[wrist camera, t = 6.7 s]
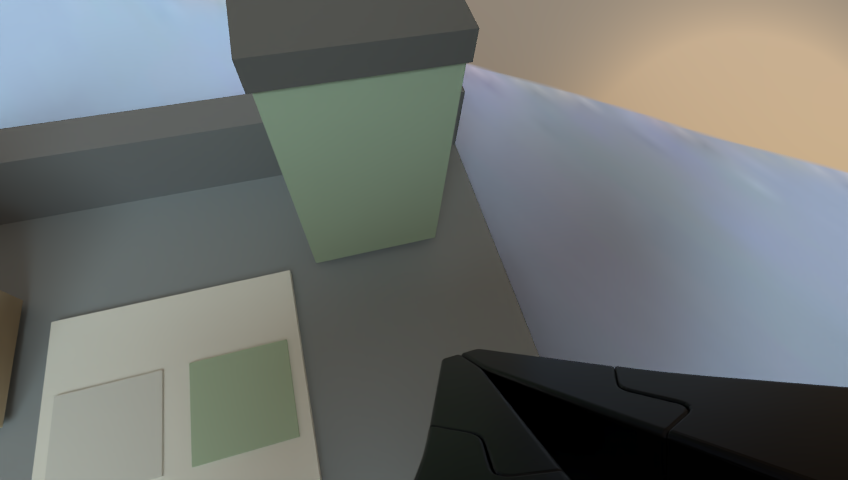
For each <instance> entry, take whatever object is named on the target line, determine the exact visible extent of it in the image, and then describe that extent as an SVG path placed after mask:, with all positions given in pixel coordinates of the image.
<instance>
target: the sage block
mask: <svg viewBox="0 0 848 480" xmlns="http://www.w3.org/2000/svg"><path fill="white" fill-rule="evenodd" d="M226 6H227V16H228V26H229V35H230V45H231V54H232V61H233V63H234V66H235V68H236V71H237V73H238V76H239V78H240V81H241V83H242V86H243V88H244V91H245V94H251V93H252V95H253V97H254V100H255V103H256V105H257V108H258V111H259V113H260V116H261V119H262V121H263V124H264V127H265V129H266V132H267V135H268V137H269V140H270V143H271V145H272V148H273V150H274V153H275V156H276V158H277V161H278V164H279V166H280V169H281V172H282V174H283V177H284V180H285V182H286V185H287V188H288V190H289V193H290V195H291V198H292V201H293V203H294V206H295V209H296V211H297V214H298V217H299V219H300V222H301V225H302V227H303V230H304V233H305V235H306V238H307V240H308V243H309V246H310V248H311V251H312V254H313V256H314V259H315V262H316V263H320V262H324V261H329V260H333V259H338V258H343V257H347V256H352V255H356V254H361V253H366V252H370V251H375V250H379V249H384V248H389V247H393V246H398V245H402V244H407V243H412V242H416V241H421V240H425V239H430V238H435V235H436V229H437V224H438V218H439V212H440V207H441V201H442V196H443V190H444V184H445V179H446V173H447V168H448V162H449V156H450V151H451V145H452V139H453V134H454V128H455V123H456V117H457V111H458V106H459V100H460V95H461V89H462V83H463V78H464V72H465V67H466V63H469V62H473V57H474V52H475V47H476V41H477V37H478V31H479V27H478V25H477V23H476V21H475V19H474V17H473V15H472V13H471V11H470V9H469V7H468V5H467V4H466V2H465V0H226Z"/></svg>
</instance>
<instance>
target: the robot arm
mask: <svg viewBox="0 0 848 480" xmlns="http://www.w3.org/2000/svg"><path fill="white" fill-rule="evenodd" d="M414 480H848V387H837V386H825V385H812V384H800V383H787V382H775V381H762V380H750V379H737V378H725V377H712V376H700V375H690V374H679V373H668V372H659V371H650V370H642V369H633V368H626V367H618V366H617V367H615V369H614V367H612V366H605V365H597V364H590V363H582V362H575V361H567V360H560V359H552V358H545V357H537V356H530V355H522V354H515V353H507V352H500V351H492V350H485V349H475V350H471V351H468V352H464V353H463V354H462V355H454V356H451V357H447V358H444V359H443V360H442V362H441V367H440V373H439V378H438V384H437V389H436V395H435V400H434V405H433V411H432V416H431V422H430V427H429V430H428V435H427V440H426V444H425V448H424V452H423V456H422V459H421V462H420V465H419V467H418V470H417V473H416V475H415V478H414Z"/></svg>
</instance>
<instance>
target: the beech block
mask: <svg viewBox="0 0 848 480" xmlns="http://www.w3.org/2000/svg"><path fill="white" fill-rule="evenodd" d="M22 304H23V300H21V299H19V298H16V297H14V296H12V295H10V294H8V293H5V292H3V291H1V290H0V428H2V427H3V421H4V415H5V409H6V403H7V397H8V390H9V384H10V378H11V372H12V366H13V359H14V353H15V347H16V341H17V335H18V328H19V322H20V316H21V310H22Z"/></svg>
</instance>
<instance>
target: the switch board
mask: <svg viewBox="0 0 848 480" xmlns="http://www.w3.org/2000/svg"><path fill="white" fill-rule="evenodd" d="M464 93H465V91H464V89H463V86H462V89H461V95H460V100H459V106H458V111H457V117H456V123H455V128H454V134H453V139H452V145H451V151H450V156H449V162H448V168H447V173H446V179H445V184H444V190H443V196H442V201H441V207H440V212H439V218H438V224H437V229H436V235H435V238H430V239H425V240H421V241H416V242H412V243H407V244H402V245H398V246H393V247H389V248H384V249H379V250H375V251H370V252H366V253H361V254H356V255H352V256H347V257H343V258H338V259H333V260H329V261H324V262H320V263H316V262H315V259H314V256H313V254H312V251H311V248H310V246H309V243H308V240H307V238H306V235H305V233H304V230H303V227H302V225H301V222H300V219H299V217H298V214H297V211H296V209H295V206H294V203H293V201H292V198H291V195H290V193H289V190H288V188H287V185H286V182H285V180H284V177H283V174H282V172H281V169H280V166H279V164H278V161H277V158H276V156H275V153H274V150H273V148H272V145H271V143H270V140H269V137H268V135H267V132H266V129H265V127H264V124H263V121H262V119H261V116H260V113H259V111H258V108H257V105H256V103H255V100H254V97H253V95H252V94H244V95H237V96H230V97H223V98H216V99H209V100H202V101H195V102H188V103H181V104H174V105H167V106H160V107H153V108H146V109H139V110H132V111H124V112H117V113H110V114H103V115H96V116H89V117H82V118H75V119H68V120H61V121H54V122H47V123H40V124H33V125H26V126H19V127H11V128H4V129H0V290H1V291H3V292H5V293H8V294H10V295H12V296H14V297H16V298H19V299H21V300H23V304H22V310H21V316H20V322H19V328H18V335H17V341H16V347H15V353H14V359H13V366H12V372H11V378H10V384H9V390H8V397H7V403H6V409H5V415H4V421H3V427H2V428H0V480H414V478H415V475H416V473H417V470H418V467H419V465H420V462H421V459H422V456H423V452H424V448H425V444H426V440H427V435H428V430H429V427H430V422H431V416H432V411H433V405H434V400H435V395H436V389H437V384H438V378H439V373H440V367H441V362H442V360H443V359H444V358H447V357H451V356H454V355H462V354H463V353H464V352H468V351H471V350H475V349H485V350H492V351H500V352H507V353H515V354H522V355H530V356H537V357H539V354H538V352H537V349H536V347H535V344H534V342H533V339H532V337H531V334H530V332H529V329H528V326H527V324H526V321H525V319H524V316H523V314H522V311H521V309H520V306H519V304H518V301H517V299H516V296H515V294H514V291H513V289H512V286H511V284H510V281H509V279H508V276H507V274H506V271H505V269H504V266H503V264H502V261H501V259H500V256H499V254H498V251H497V249H496V246H495V244H494V241H493V239H492V236H491V234H490V231H489V229H488V226H487V224H486V221H485V219H484V216H483V214H482V211H481V209H480V206H479V204H478V201H477V199H476V196H475V194H474V191H473V189H472V186H471V184H470V181H469V179H468V176H467V174H466V171H465V169H464V166H463V164H462V161H461V159H460V156H459V154H458V151H457V149H456V146H455V141H456V135H457V130H458V125H459V120H460V114H461V109H462V104H463V98H464Z"/></svg>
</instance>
